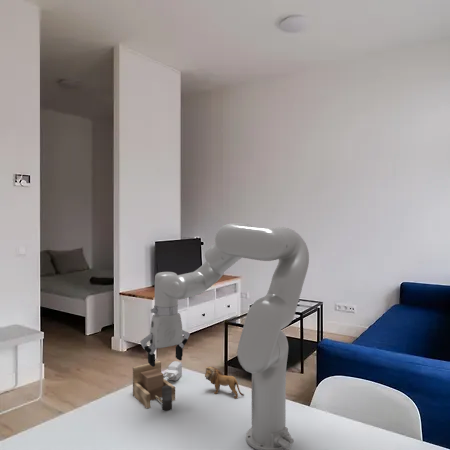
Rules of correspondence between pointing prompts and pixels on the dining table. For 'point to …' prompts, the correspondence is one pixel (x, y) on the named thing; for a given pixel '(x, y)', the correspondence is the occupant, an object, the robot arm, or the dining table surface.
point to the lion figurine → (221, 380)
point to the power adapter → (174, 371)
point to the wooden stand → (139, 390)
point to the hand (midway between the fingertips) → (165, 362)
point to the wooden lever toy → (157, 388)
